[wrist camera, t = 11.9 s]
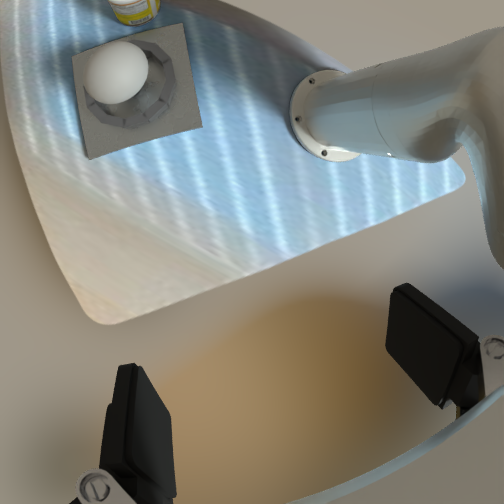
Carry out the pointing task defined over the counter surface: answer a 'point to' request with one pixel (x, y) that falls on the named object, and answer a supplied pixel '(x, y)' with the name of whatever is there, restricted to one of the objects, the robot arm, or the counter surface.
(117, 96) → the lightbulb
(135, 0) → the supplement bottle
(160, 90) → the plate
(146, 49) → the socket
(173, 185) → the counter surface
